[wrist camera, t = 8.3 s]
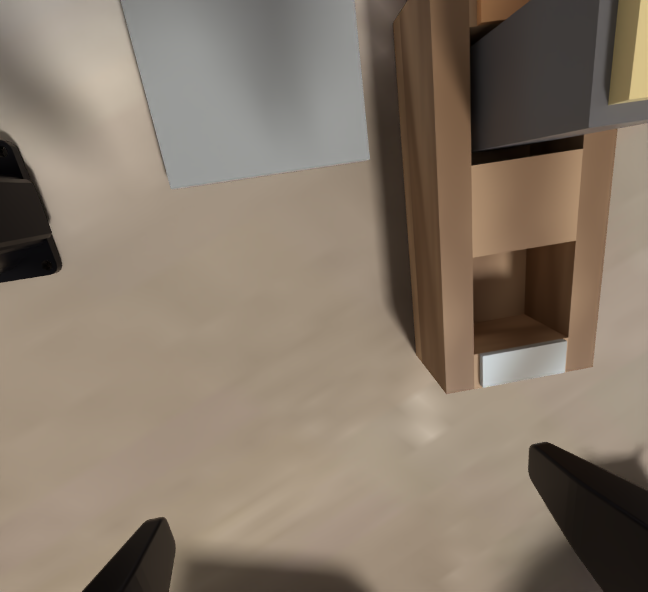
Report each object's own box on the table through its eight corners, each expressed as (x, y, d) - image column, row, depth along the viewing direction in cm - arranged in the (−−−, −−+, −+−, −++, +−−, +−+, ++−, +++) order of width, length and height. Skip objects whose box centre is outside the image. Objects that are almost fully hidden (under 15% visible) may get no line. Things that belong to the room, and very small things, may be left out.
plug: (445, 157, 18) (608, 124, 9) (443, 68, 17) (628, -77, 8) (519, 146, 18) (753, 103, 9) (522, 57, 17) (795, -95, 8)
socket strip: (416, 354, 22) (449, 397, 18) (393, 23, 17) (432, -39, 12) (539, 332, 23) (602, 368, 18) (556, 2, 17) (652, -65, 13)
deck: (177, 189, 18) (170, 189, 17) (114, -51, 15) (102, -67, 14) (365, 161, 19) (369, 159, 18) (341, -77, 16) (345, -95, 15)
